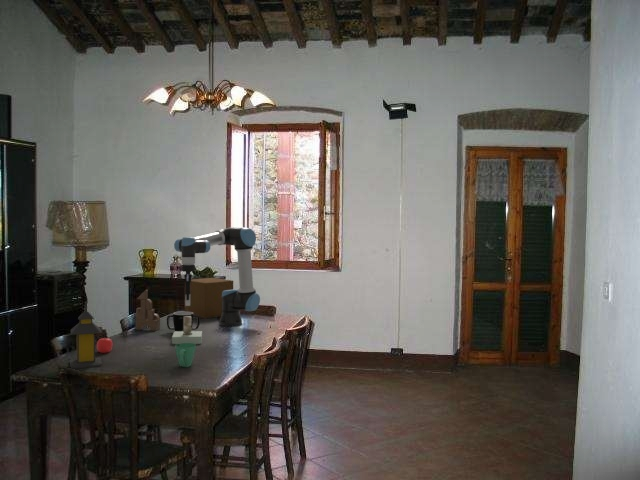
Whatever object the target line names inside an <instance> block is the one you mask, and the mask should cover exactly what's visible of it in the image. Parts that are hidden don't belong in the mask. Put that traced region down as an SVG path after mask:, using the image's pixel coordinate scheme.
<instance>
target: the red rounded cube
mask: <svg viewBox="0 0 640 480" xmlns="http://www.w3.org/2000/svg"><path fill="white" fill-rule="evenodd" d="M113 345H114V343H113V341H112V339H111V338H108V337H106V336H104V338H103V337H102V338H100V339H98V340H97V341H96V349H97V351H98V352H99V353H100V354H105V353H106V354H107V353H110V351H112V349H113Z"/></svg>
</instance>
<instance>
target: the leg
mask: <svg viewBox="0 0 640 480" xmlns="http://www.w3.org/2000/svg"><path fill="white" fill-rule="evenodd" d="M191 331H192V330H191V316H184V335H191Z"/></svg>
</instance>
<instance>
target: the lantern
mask: <svg viewBox="0 0 640 480" xmlns="http://www.w3.org/2000/svg"><path fill="white" fill-rule="evenodd" d="M94 319H95V318H94V316H93V315H92V314H91V312H89V311H88V301H84V311H83V312H82V313H81V314H80V315H79V316H78V317H77V320H79V322H78V323H77V324H75V326H73V327H72V328H71V329H70V335H76V358H75V359H70V360H69V368H70V367H71V368H70V369H81V368H83V369H84V368H94V367H95V368H96V367H102V366H103V362H102V358H101V357H96V334H101V333H103V331H102V330H101V327H100V326H98V325H97V324H95V323H94V322H93V320H94Z"/></svg>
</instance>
